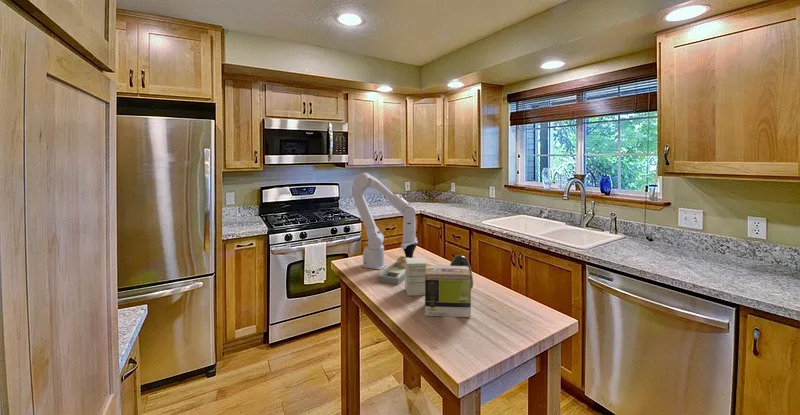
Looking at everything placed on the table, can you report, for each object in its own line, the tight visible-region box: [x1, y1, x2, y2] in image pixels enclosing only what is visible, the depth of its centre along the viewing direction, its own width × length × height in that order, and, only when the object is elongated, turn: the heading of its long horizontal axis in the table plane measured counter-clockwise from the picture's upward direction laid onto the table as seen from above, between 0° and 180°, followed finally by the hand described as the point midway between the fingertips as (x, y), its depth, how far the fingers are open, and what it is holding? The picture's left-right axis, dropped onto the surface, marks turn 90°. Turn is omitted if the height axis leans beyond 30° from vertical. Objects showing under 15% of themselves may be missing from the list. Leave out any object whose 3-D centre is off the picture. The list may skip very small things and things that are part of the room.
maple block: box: [396, 255, 409, 268], centre depth 162 cm, size 4×4×4 cm
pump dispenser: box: [449, 254, 474, 290], centre depth 137 cm, size 10×10×15 cm
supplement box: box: [404, 257, 427, 297], centre depth 139 cm, size 7×7×13 cm
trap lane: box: [378, 261, 405, 286], centre depth 160 cm, size 9×24×4 cm, turn 156°
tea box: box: [424, 264, 472, 318], centre depth 122 cm, size 15×10×15 cm, turn 84°
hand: (409, 260), depth 168 cm, fingers closed
